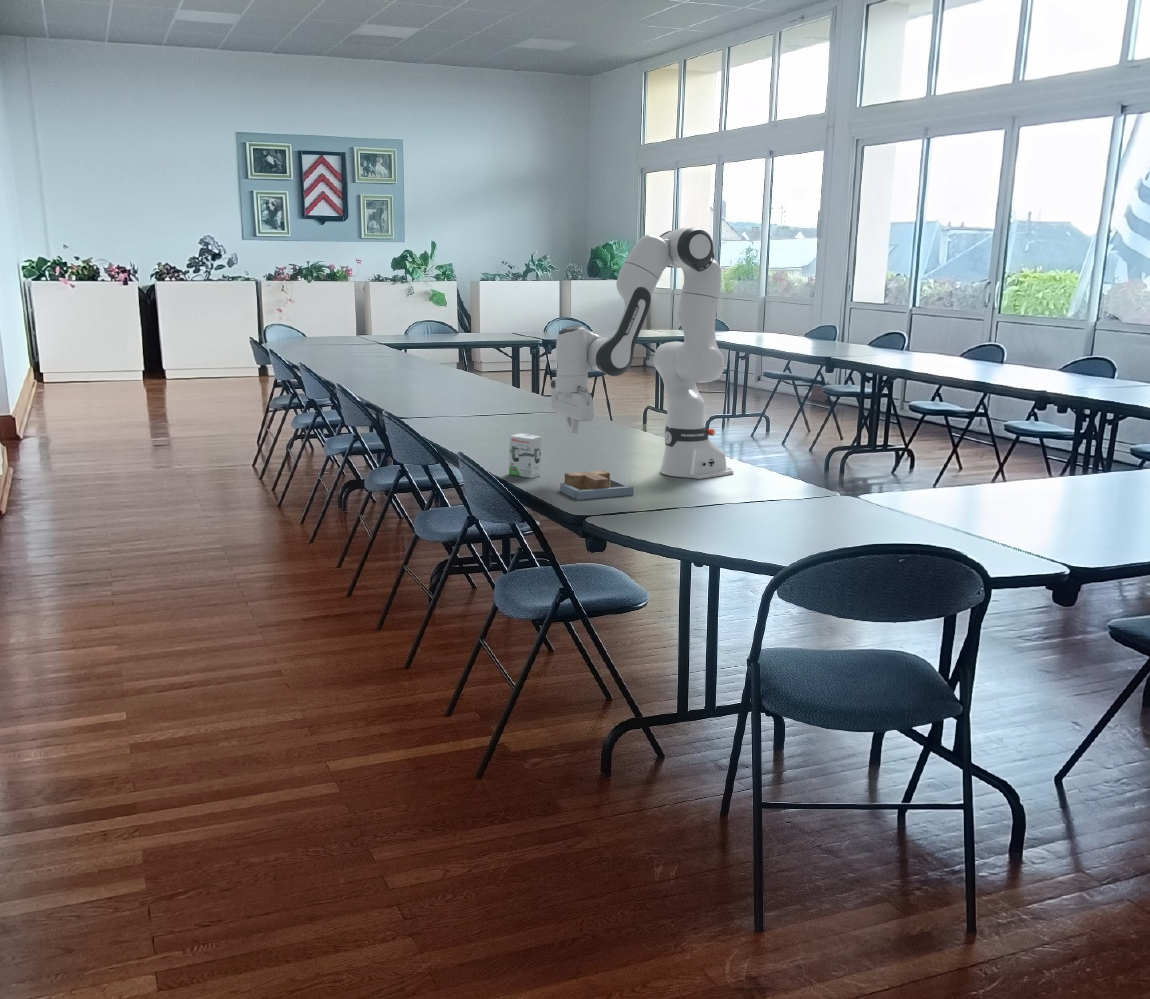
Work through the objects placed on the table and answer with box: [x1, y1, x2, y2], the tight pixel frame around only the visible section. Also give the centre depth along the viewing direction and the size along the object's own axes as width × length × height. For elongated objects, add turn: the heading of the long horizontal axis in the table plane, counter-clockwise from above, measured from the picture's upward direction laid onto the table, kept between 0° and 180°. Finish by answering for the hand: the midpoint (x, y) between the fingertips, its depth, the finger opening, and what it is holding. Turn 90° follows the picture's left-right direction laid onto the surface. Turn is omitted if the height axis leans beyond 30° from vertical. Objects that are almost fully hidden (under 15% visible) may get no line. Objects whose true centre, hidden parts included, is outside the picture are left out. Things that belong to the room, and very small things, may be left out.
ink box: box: [508, 432, 542, 479], centre depth 310 cm, size 9×5×12 cm, turn 57°
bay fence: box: [559, 478, 635, 501], centre depth 289 cm, size 17×11×2 cm, turn 116°
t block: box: [564, 470, 611, 490], centre depth 291 cm, size 12×11×4 cm
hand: (573, 432), depth 302 cm, fingers closed
